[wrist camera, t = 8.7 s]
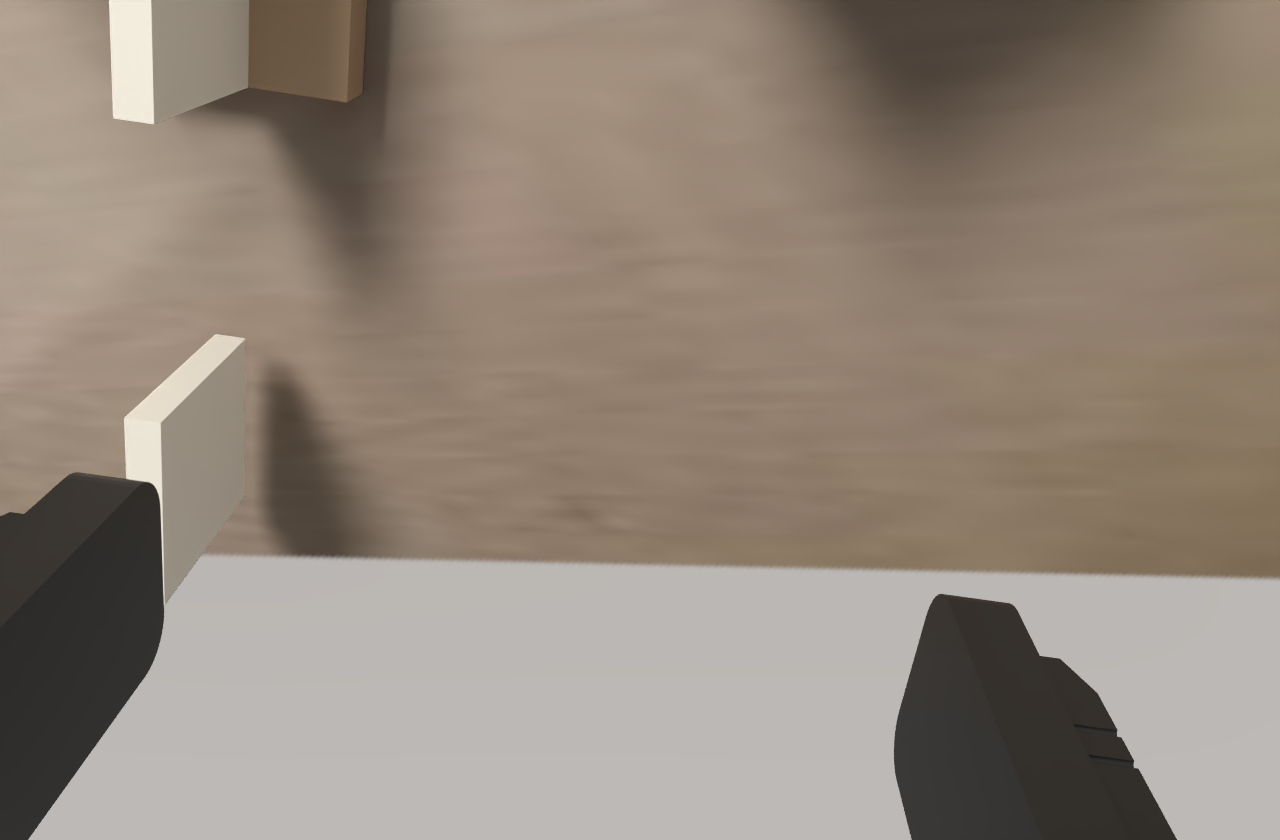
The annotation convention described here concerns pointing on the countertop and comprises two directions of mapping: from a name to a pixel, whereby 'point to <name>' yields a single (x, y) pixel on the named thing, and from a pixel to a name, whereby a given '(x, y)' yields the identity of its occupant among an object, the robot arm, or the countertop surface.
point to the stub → (192, 451)
